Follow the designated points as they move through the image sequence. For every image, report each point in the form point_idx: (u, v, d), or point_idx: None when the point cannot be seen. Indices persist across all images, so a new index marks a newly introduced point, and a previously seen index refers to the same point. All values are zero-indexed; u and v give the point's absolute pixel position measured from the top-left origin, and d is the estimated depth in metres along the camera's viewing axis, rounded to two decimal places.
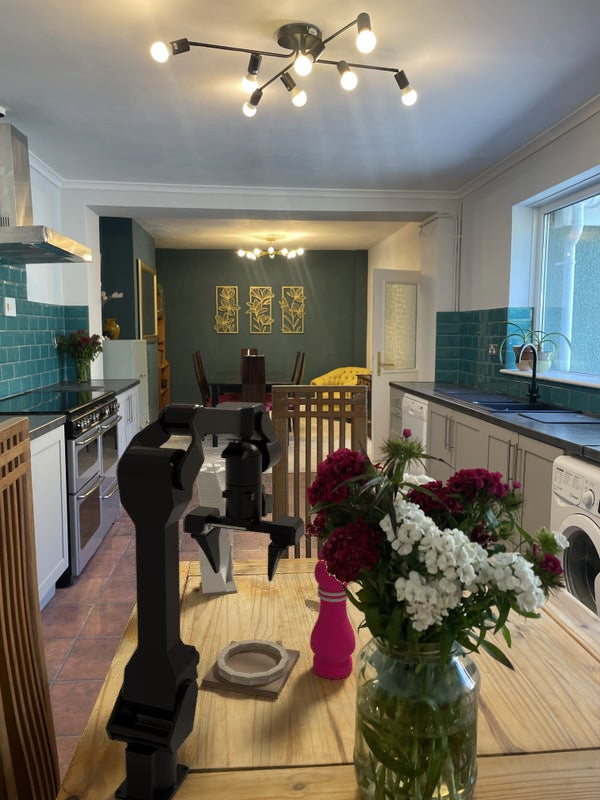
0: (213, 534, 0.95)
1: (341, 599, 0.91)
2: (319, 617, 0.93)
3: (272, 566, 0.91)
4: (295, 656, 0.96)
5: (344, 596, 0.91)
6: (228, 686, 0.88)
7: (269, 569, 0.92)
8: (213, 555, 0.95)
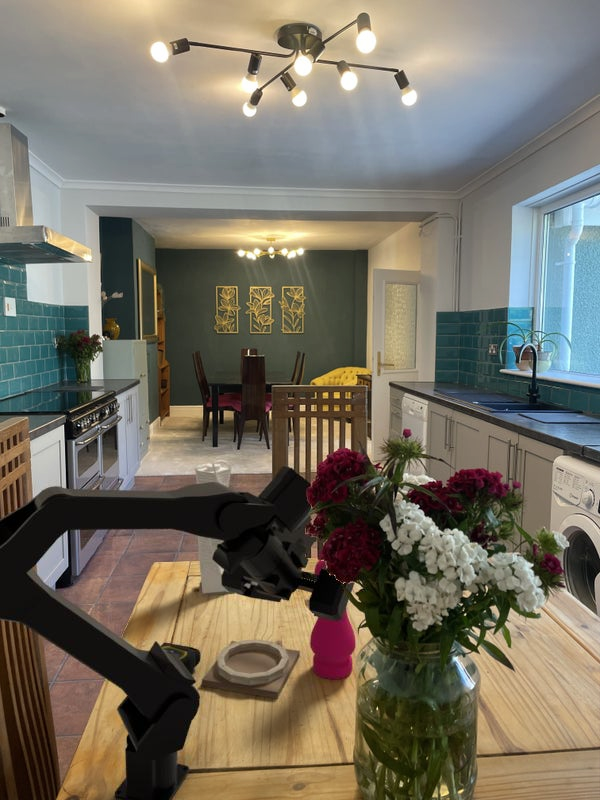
0: None
1: None
2: (319, 617, 0.93)
3: None
4: (295, 656, 0.96)
5: None
6: (228, 686, 0.88)
7: None
8: (267, 596, 0.86)
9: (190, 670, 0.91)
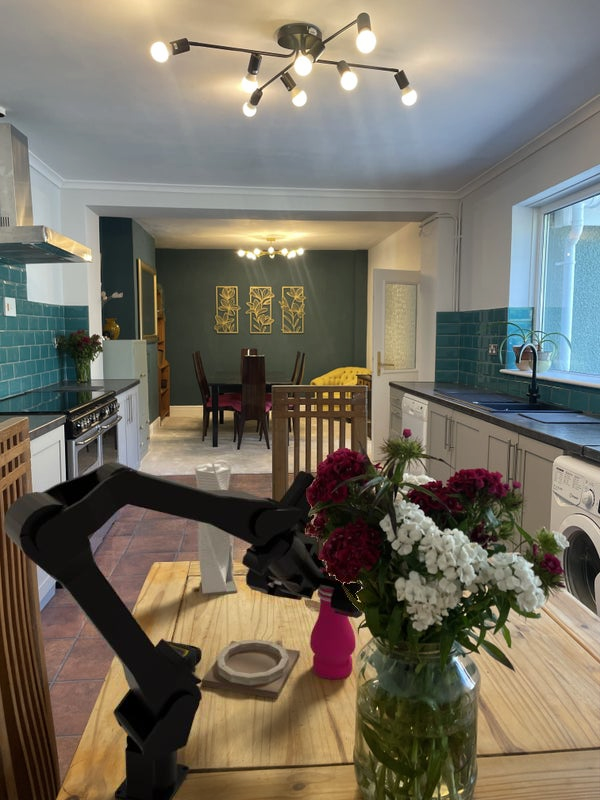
0: None
1: None
2: (319, 617, 0.93)
3: None
4: (295, 656, 0.96)
5: None
6: (228, 686, 0.88)
7: None
8: (289, 595, 0.91)
9: (191, 668, 0.92)
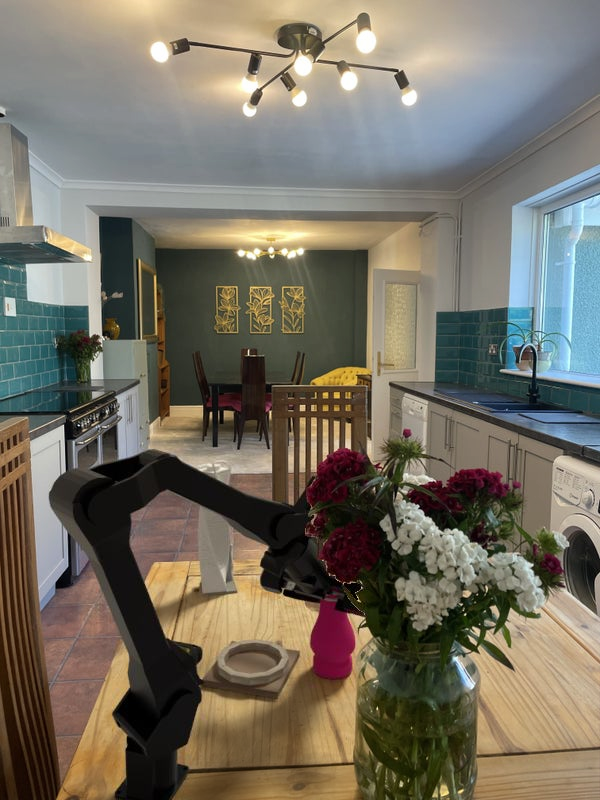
0: None
1: None
2: (319, 617, 0.93)
3: None
4: (295, 656, 0.96)
5: None
6: (228, 686, 0.88)
7: None
8: (312, 599, 0.93)
9: None
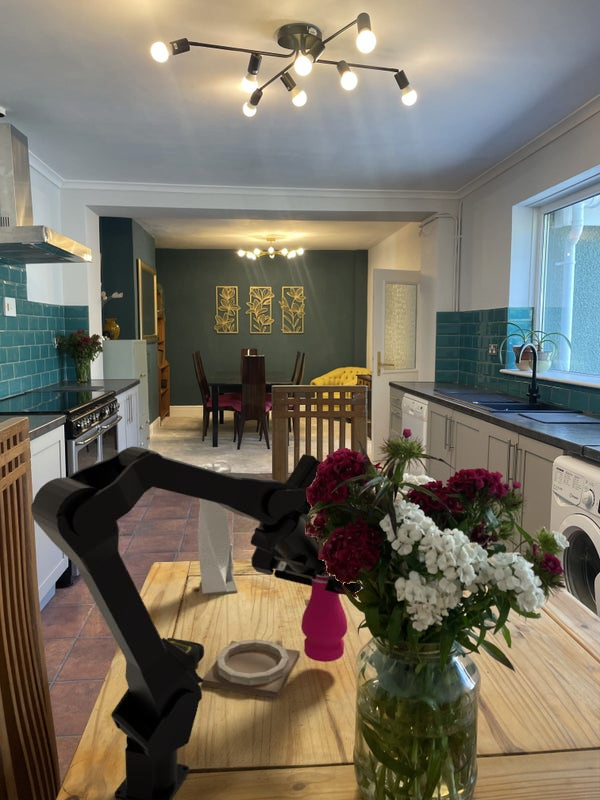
0: None
1: None
2: (311, 599, 0.92)
3: None
4: (295, 656, 0.96)
5: None
6: (228, 686, 0.88)
7: None
8: (304, 581, 0.93)
9: (194, 665, 0.93)
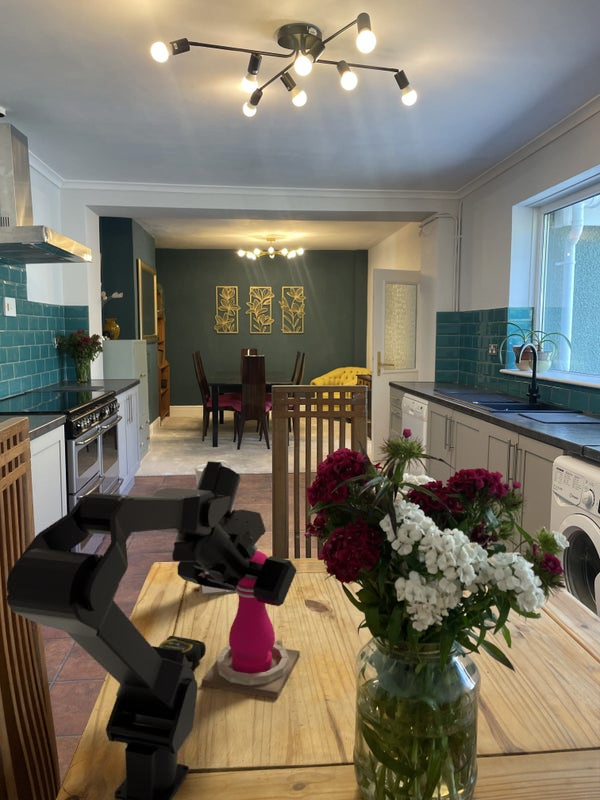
0: None
1: None
2: (237, 613, 0.92)
3: None
4: (295, 656, 0.96)
5: None
6: (228, 686, 0.88)
7: None
8: (222, 585, 0.93)
9: (195, 662, 0.94)
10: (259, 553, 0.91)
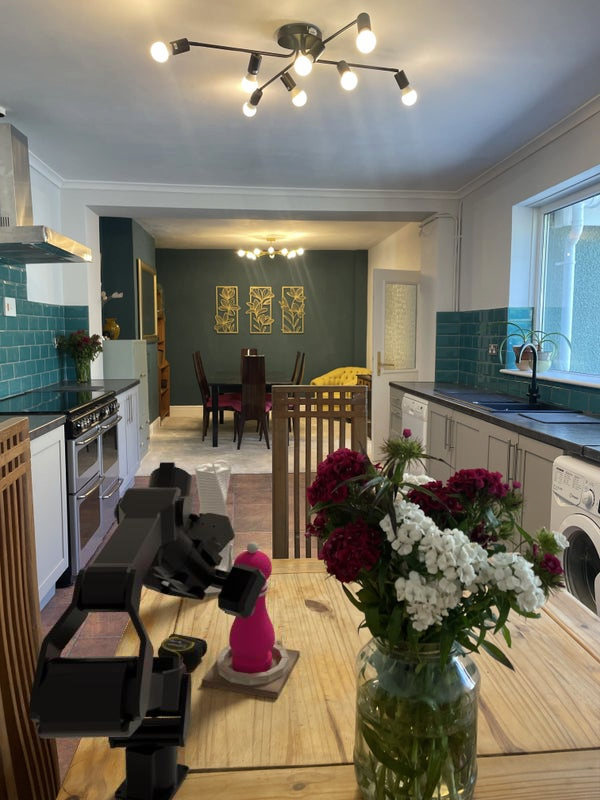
0: None
1: None
2: None
3: None
4: (295, 656, 0.96)
5: (262, 592, 0.90)
6: (228, 686, 0.88)
7: None
8: (188, 594, 0.87)
9: (197, 660, 0.94)
10: (260, 553, 0.91)
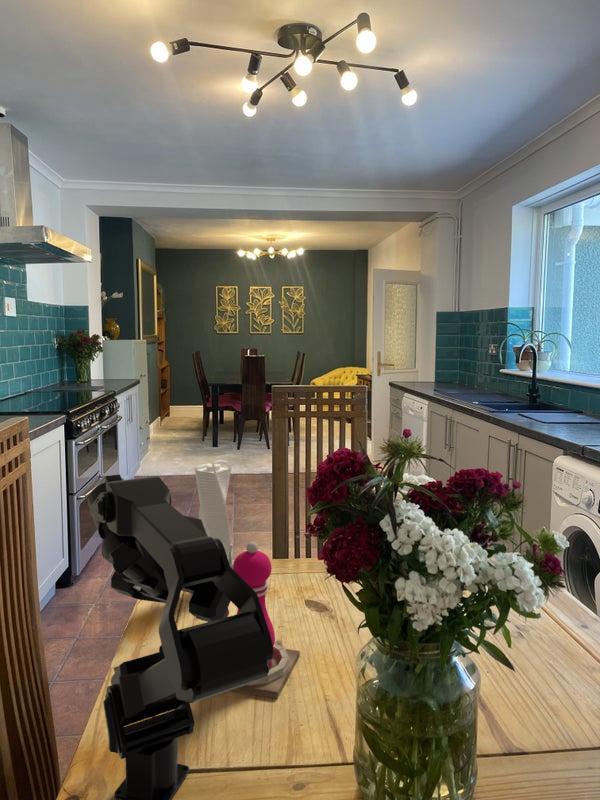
0: None
1: (258, 595, 0.90)
2: (237, 613, 0.92)
3: None
4: (295, 656, 0.96)
5: (261, 592, 0.90)
6: None
7: None
8: None
9: None
10: (259, 553, 0.92)
